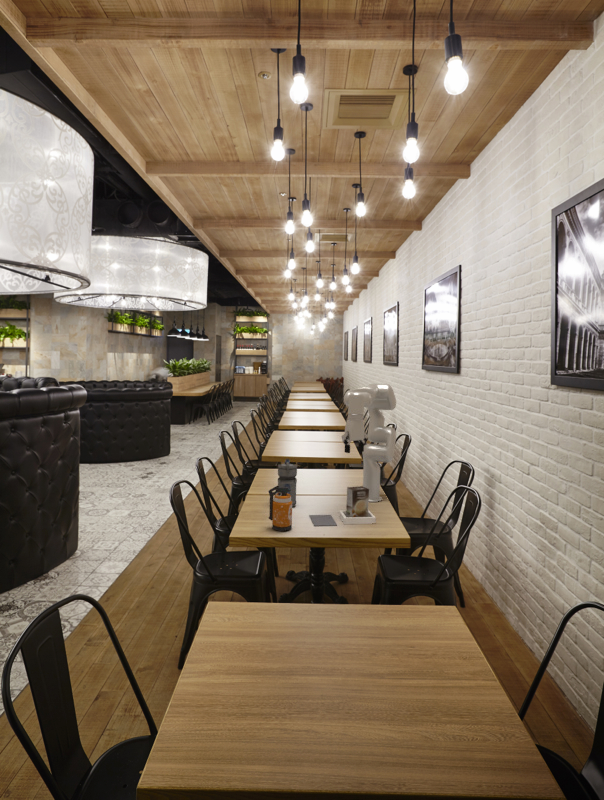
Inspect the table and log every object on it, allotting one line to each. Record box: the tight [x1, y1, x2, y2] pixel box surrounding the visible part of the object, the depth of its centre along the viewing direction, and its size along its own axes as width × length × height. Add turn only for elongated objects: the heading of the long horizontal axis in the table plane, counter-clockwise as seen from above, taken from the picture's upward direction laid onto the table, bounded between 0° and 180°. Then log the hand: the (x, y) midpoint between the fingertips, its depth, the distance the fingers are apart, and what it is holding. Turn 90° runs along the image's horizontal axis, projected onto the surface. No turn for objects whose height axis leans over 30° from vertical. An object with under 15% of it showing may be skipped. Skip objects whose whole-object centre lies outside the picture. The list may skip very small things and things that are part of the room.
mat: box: [308, 514, 338, 527], centre depth 247 cm, size 16×11×1 cm
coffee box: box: [345, 485, 370, 517], centre depth 248 cm, size 9×6×16 cm
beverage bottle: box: [277, 458, 298, 508], centre depth 270 cm, size 10×13×25 cm
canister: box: [268, 484, 293, 532], centre depth 233 cm, size 9×11×20 cm
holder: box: [338, 509, 377, 525], centre depth 249 cm, size 12×15×3 cm
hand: (354, 452), depth 251 cm, fingers open, 9 cm apart
